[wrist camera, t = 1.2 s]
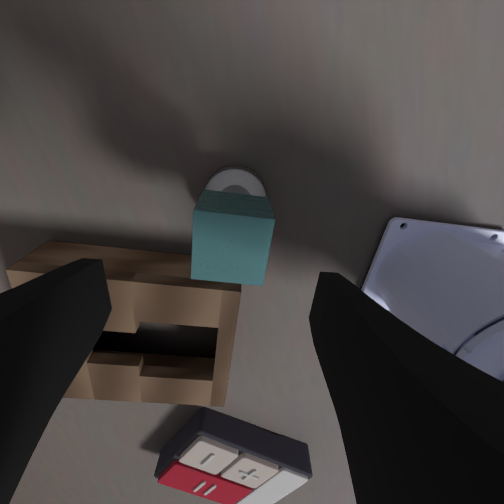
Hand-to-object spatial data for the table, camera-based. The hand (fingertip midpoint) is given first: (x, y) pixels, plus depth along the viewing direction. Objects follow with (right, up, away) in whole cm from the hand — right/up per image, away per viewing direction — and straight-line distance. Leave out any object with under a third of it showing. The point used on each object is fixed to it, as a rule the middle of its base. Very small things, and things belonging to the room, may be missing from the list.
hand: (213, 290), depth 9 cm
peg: (0, +5, +9) cm, 10 cm away
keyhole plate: (-7, -4, +14) cm, 16 cm away
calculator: (-1, -23, +25) cm, 34 cm away
